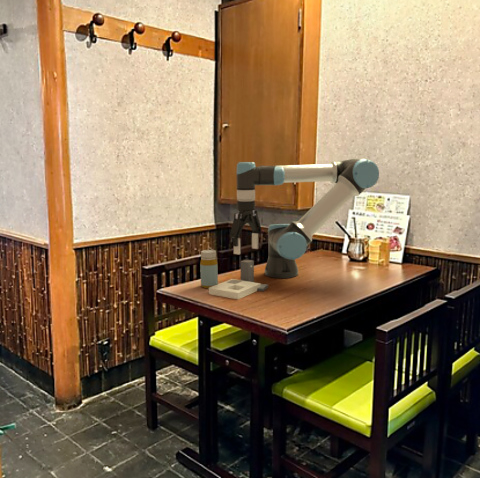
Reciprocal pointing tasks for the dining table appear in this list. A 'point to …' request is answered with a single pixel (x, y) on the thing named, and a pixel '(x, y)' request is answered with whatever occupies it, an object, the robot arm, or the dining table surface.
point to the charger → (247, 270)
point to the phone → (262, 287)
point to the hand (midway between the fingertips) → (246, 251)
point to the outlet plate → (234, 288)
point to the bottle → (208, 269)
